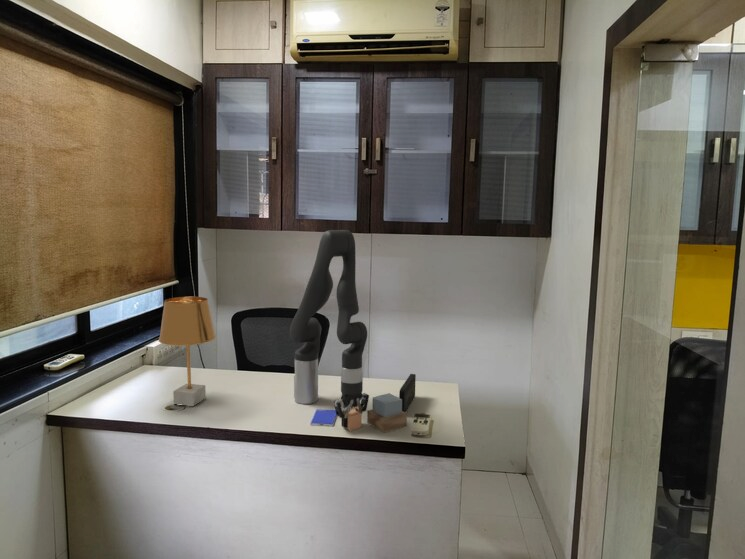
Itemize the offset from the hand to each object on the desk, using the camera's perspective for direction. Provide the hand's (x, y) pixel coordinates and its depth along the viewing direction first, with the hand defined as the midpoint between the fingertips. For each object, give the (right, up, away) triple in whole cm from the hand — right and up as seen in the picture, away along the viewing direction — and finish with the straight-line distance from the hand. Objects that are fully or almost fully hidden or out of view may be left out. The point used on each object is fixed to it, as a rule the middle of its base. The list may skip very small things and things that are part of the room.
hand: (351, 425), depth 182 cm
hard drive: (-10, 0, +7) cm, 12 cm away
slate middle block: (+13, +4, +2) cm, 13 cm away
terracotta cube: (0, -1, 0) cm, 0 cm away
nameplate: (+21, +2, +20) cm, 29 cm away
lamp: (-64, +3, +21) cm, 68 cm away
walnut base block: (+13, -1, +2) cm, 13 cm away
